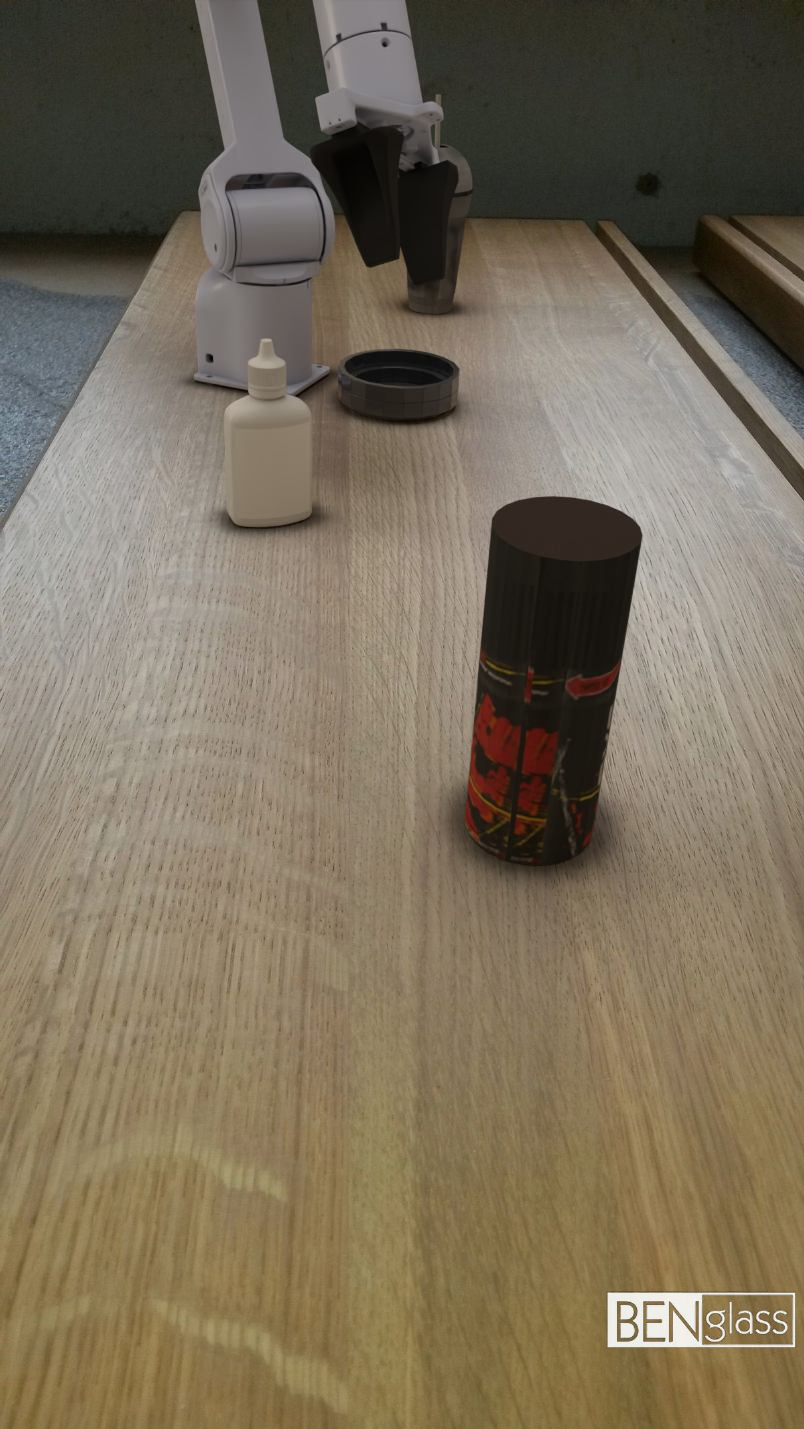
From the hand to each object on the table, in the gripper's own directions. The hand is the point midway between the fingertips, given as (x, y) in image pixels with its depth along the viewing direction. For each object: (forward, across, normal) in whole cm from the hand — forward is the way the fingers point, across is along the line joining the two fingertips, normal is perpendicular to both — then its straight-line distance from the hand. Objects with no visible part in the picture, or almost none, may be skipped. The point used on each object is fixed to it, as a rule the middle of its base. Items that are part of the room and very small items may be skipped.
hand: (407, 272), depth 78 cm
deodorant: (+32, -23, -10) cm, 40 cm away
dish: (+4, +21, +11) cm, 24 cm away
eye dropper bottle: (+14, -2, +12) cm, 18 cm away
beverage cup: (-8, +47, +16) cm, 50 cm away
